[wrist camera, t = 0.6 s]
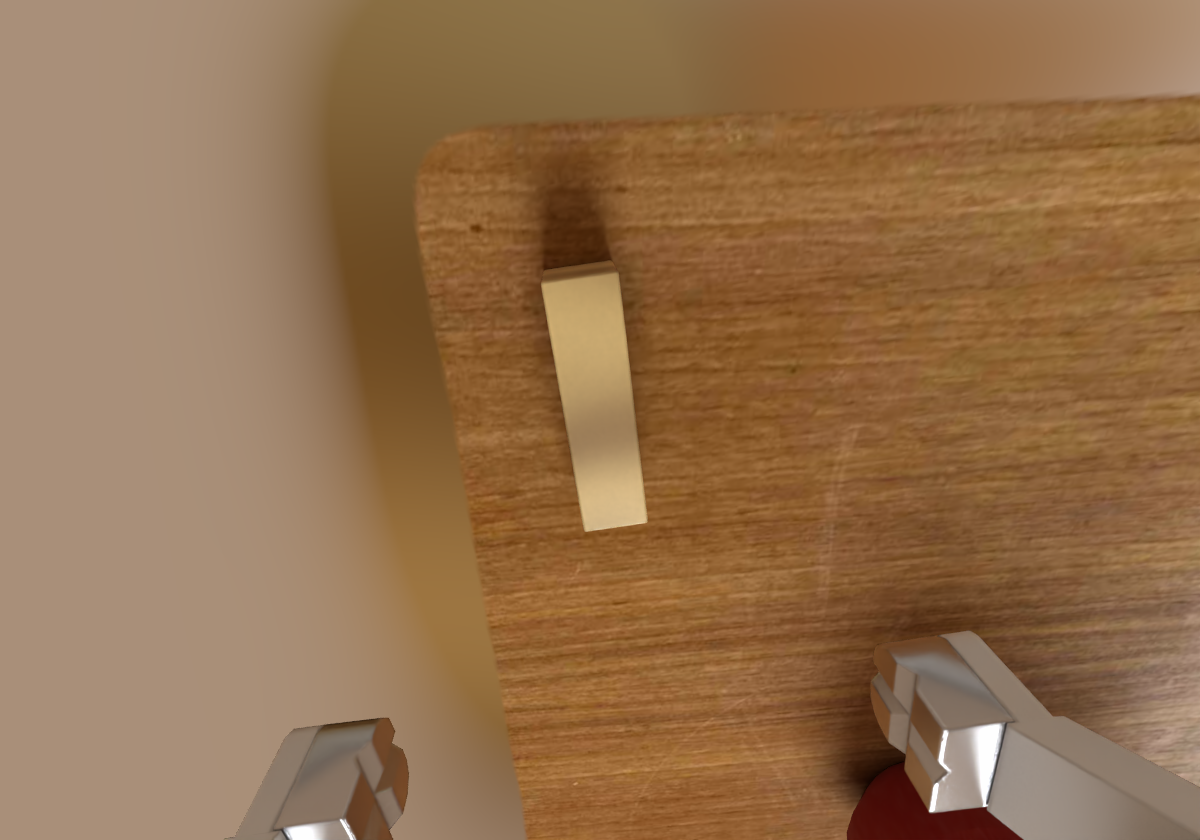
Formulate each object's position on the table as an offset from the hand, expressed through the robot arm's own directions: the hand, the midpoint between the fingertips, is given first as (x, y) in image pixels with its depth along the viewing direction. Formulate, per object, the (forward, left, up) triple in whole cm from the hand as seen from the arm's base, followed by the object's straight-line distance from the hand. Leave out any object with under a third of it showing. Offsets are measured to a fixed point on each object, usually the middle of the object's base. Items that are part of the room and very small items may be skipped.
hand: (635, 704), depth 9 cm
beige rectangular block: (0, 0, -15) cm, 15 cm away
